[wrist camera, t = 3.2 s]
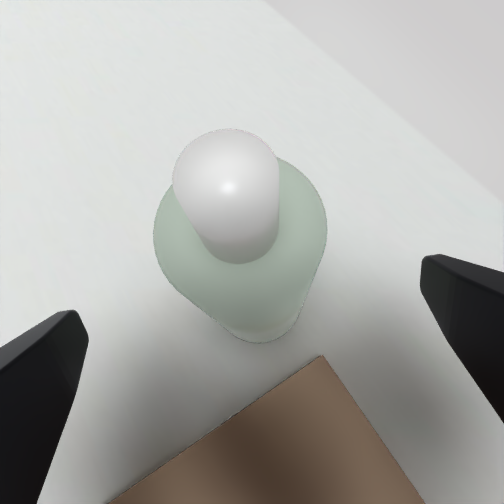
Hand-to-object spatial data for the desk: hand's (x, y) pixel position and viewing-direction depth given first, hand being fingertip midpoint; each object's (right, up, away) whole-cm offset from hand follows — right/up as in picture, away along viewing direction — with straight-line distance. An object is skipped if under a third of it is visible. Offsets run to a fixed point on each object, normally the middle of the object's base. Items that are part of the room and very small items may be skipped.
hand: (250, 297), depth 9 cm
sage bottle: (0, -1, +9) cm, 9 cm away
